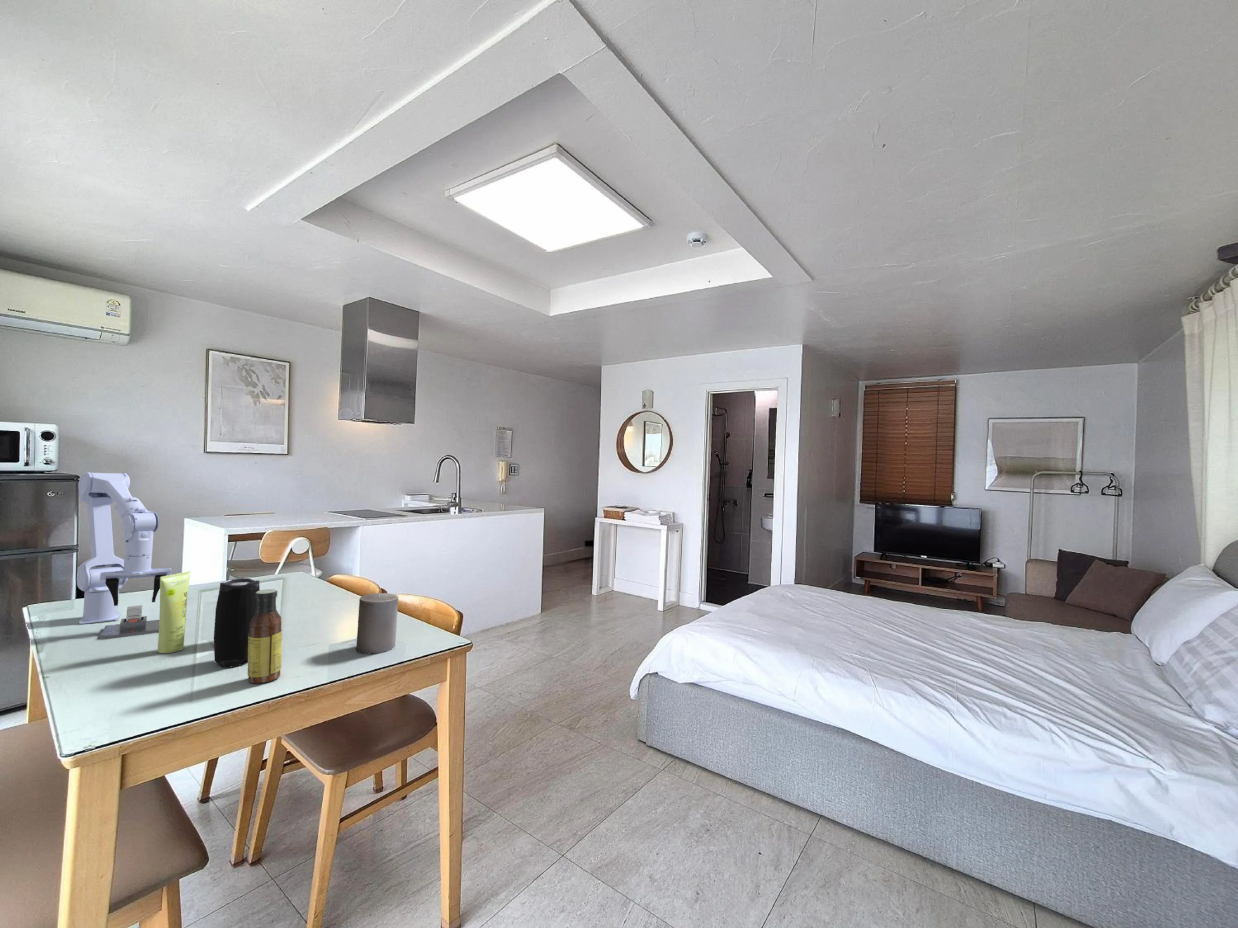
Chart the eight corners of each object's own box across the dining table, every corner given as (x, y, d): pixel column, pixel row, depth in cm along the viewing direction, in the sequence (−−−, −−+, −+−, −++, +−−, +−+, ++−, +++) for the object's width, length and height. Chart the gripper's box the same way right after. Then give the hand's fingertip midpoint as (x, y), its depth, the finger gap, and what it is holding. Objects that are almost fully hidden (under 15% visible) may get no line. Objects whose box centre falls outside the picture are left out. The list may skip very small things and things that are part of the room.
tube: (181, 652, 127) (186, 574, 128) (154, 655, 124) (160, 576, 125) (185, 645, 132) (190, 570, 132) (159, 648, 129) (164, 572, 130)
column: (125, 629, 142) (127, 606, 143) (140, 627, 145) (142, 605, 145) (124, 632, 140) (126, 609, 140) (140, 630, 142) (141, 607, 142)
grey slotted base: (105, 628, 143) (106, 615, 143) (162, 621, 151) (163, 610, 151) (100, 639, 134) (101, 626, 134) (161, 631, 142) (162, 619, 142)
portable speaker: (209, 671, 116) (214, 586, 117) (215, 658, 124) (220, 578, 125) (255, 665, 121) (259, 583, 121) (258, 653, 129) (263, 576, 129)
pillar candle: (347, 649, 134) (351, 592, 134) (380, 639, 143) (383, 586, 143) (371, 656, 130) (375, 598, 130) (403, 646, 138) (407, 591, 139)
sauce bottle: (275, 671, 118) (280, 586, 118) (284, 679, 114) (290, 590, 114) (241, 679, 112) (247, 590, 113) (250, 687, 108) (256, 594, 109)
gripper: (100, 558, 135) (96, 609, 135) (172, 555, 145) (169, 602, 144) (103, 555, 141) (99, 604, 140) (172, 552, 150) (169, 597, 150)
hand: (135, 603), depth 143 cm, fingers open, 7 cm apart
